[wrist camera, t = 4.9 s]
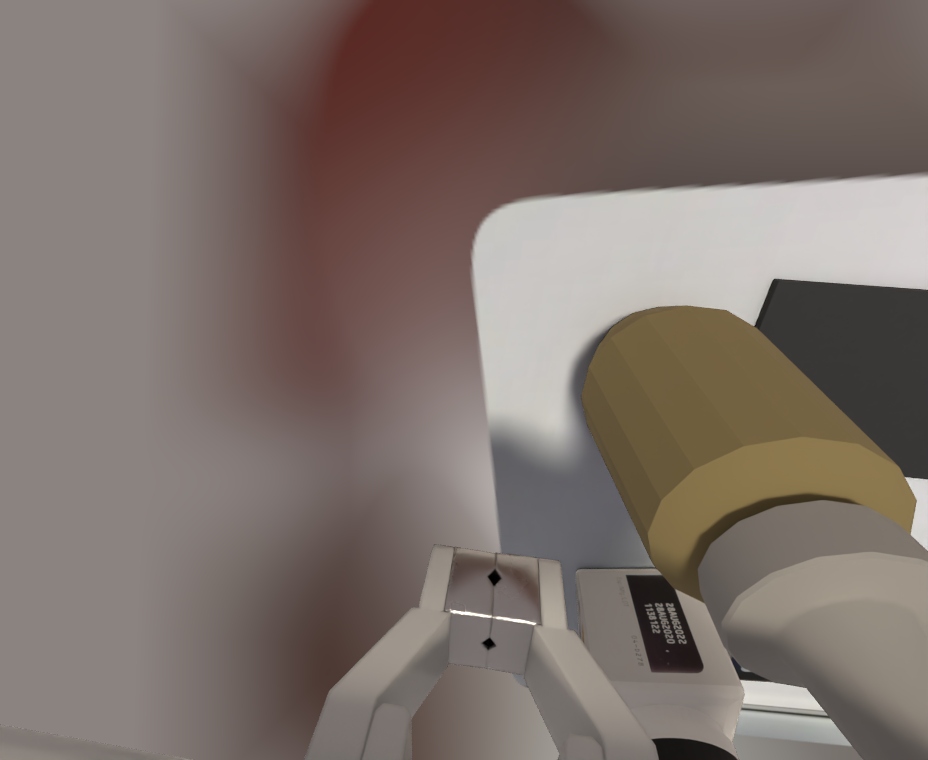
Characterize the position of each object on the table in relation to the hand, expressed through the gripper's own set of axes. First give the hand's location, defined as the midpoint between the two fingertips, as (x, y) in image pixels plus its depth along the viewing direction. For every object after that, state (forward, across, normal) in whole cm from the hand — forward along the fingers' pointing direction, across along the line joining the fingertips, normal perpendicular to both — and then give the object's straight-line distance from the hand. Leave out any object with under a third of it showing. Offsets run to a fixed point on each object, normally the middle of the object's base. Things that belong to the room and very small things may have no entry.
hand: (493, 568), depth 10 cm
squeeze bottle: (+14, -8, 0) cm, 16 cm away
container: (+14, -11, +19) cm, 26 cm away
